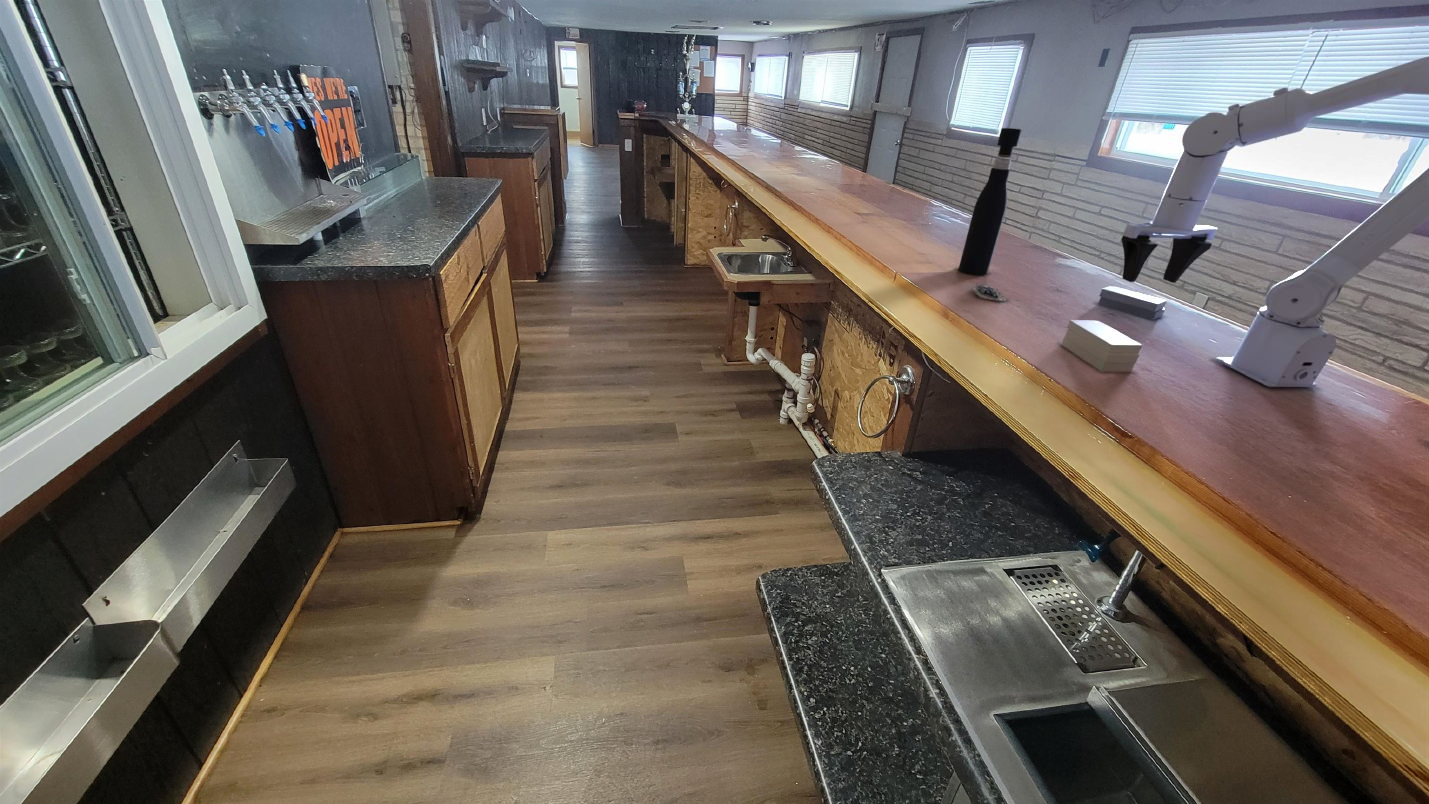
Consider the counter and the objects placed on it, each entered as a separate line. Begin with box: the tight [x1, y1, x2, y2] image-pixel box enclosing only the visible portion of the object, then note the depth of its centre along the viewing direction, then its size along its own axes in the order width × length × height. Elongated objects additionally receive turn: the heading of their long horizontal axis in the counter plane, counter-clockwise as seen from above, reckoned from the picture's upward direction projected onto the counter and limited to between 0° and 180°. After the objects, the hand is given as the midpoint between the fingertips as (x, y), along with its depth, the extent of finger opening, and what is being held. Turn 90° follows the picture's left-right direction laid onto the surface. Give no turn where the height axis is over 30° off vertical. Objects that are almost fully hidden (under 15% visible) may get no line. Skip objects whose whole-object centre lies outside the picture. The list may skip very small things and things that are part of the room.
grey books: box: [1097, 285, 1168, 321], centre depth 111 cm, size 10×4×3 cm, turn 35°
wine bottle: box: [958, 127, 1023, 276], centre depth 124 cm, size 6×6×30 cm
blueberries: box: [970, 284, 1007, 302], centre depth 116 cm, size 7×8×2 cm
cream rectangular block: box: [1060, 328, 1140, 372], centre depth 90 cm, size 10×5×3 cm, turn 5°
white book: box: [1066, 319, 1143, 354], centre depth 89 cm, size 10×5×1 cm, turn 5°
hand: (1148, 280), depth 97 cm, fingers open, 7 cm apart
